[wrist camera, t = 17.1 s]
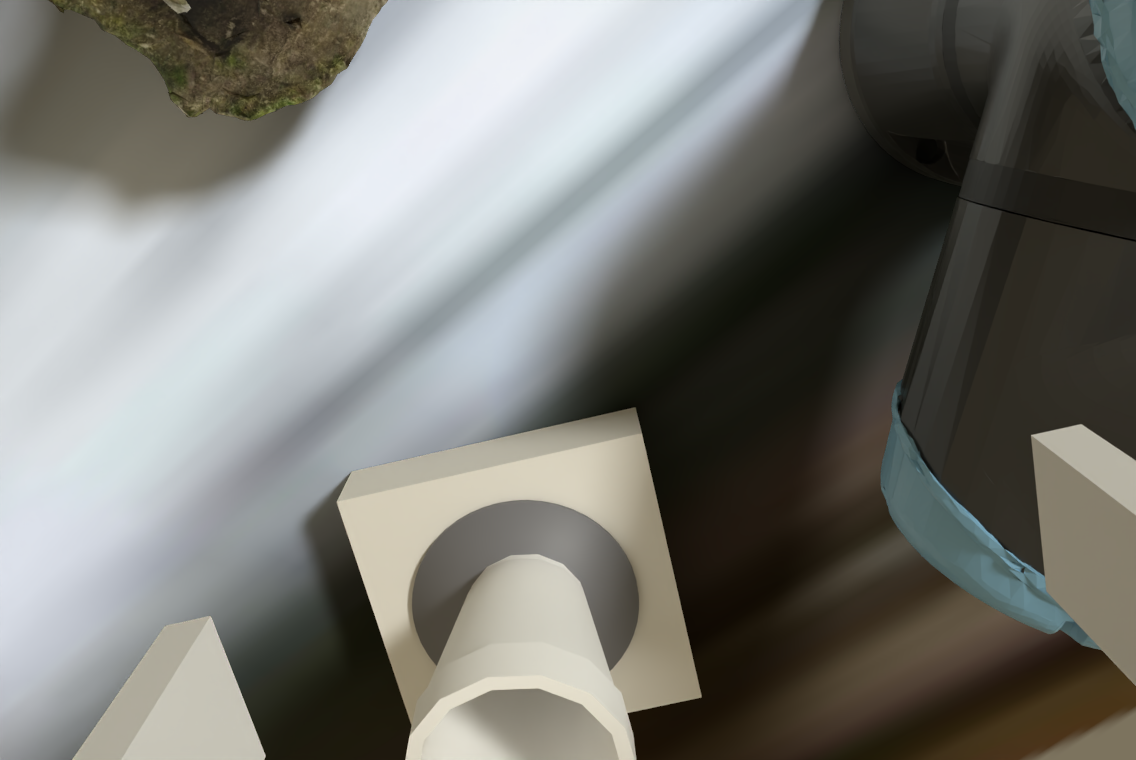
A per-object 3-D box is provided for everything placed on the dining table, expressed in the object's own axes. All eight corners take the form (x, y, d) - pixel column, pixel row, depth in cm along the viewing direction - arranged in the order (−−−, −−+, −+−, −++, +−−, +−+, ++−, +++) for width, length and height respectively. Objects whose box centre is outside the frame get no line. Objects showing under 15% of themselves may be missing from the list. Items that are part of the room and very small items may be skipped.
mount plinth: (351, 471, 54) (334, 505, 50) (635, 407, 53) (642, 436, 49) (430, 711, 59) (420, 760, 55) (691, 656, 58) (702, 701, 54)
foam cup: (651, 616, 52) (683, 786, 40) (520, 714, 54) (511, 906, 42) (534, 492, 50) (529, 630, 38) (401, 598, 52) (354, 764, 39)
